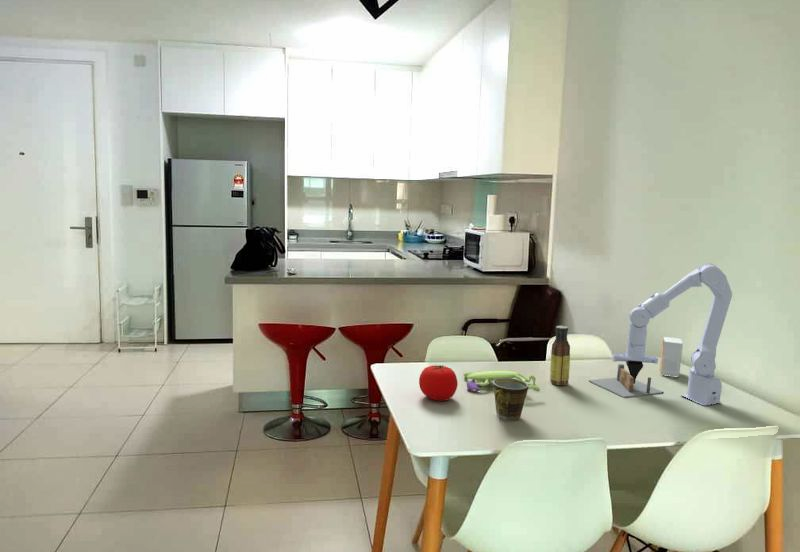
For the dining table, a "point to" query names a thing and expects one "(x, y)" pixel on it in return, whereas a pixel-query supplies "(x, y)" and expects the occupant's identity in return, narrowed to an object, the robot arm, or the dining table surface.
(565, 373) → the sauce bottle
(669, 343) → the small box
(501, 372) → the figurine
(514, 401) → the ceramic cup
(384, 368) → the dining table surface
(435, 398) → the tomato
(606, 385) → the gate frame
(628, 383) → the board
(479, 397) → the dining table surface
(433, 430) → the dining table surface
